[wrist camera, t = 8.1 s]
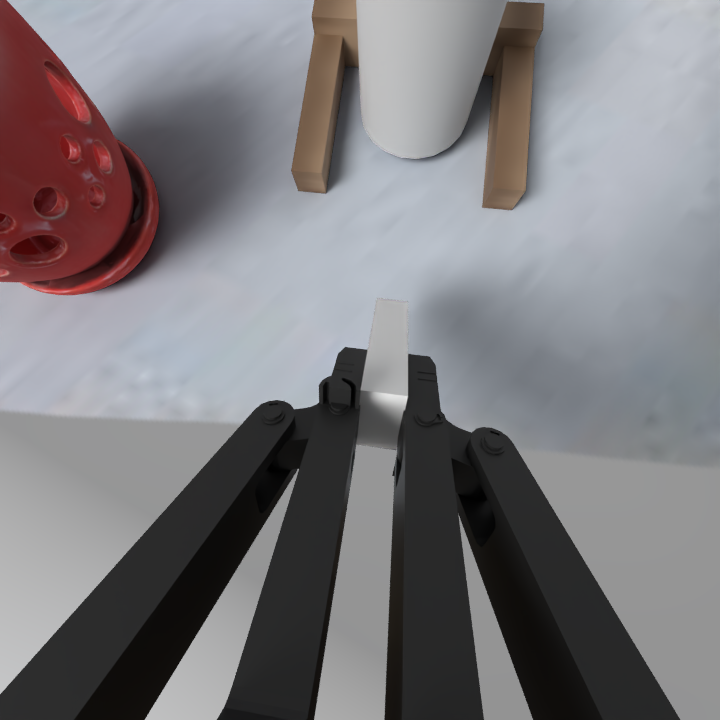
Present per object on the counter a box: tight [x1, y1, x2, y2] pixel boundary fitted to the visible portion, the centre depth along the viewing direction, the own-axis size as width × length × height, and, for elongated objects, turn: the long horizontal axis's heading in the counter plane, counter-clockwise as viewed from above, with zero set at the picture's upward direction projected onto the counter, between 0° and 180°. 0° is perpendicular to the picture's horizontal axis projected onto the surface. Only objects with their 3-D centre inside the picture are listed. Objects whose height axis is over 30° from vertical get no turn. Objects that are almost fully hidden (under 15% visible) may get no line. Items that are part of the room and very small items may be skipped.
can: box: [356, 0, 508, 159], centre depth 17 cm, size 8×8×12 cm
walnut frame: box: [291, 0, 544, 210], centre depth 22 cm, size 15×12×3 cm
